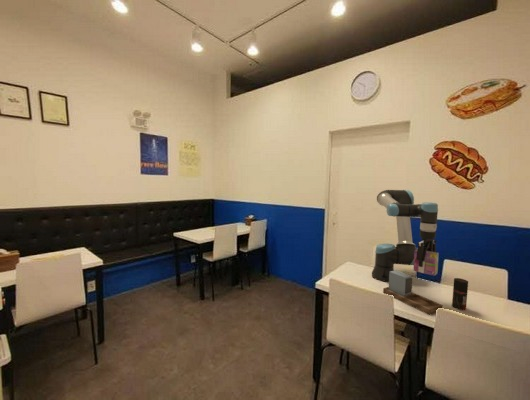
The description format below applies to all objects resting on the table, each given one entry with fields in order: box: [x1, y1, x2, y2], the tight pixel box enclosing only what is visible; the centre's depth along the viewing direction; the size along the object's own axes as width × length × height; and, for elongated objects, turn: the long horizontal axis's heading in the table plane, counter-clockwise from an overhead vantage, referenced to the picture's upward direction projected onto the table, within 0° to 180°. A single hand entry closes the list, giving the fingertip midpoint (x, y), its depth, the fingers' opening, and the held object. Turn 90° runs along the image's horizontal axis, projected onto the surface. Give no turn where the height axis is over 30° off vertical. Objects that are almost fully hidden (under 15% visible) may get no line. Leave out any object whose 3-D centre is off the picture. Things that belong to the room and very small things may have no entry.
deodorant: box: [451, 277, 469, 311], centre depth 132 cm, size 6×6×15 cm
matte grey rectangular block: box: [388, 269, 413, 296], centre depth 144 cm, size 11×6×12 cm, turn 26°
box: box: [413, 249, 439, 277], centre depth 137 cm, size 10×6×12 cm, turn 44°
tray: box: [382, 286, 444, 316], centre depth 139 cm, size 27×11×3 cm, turn 26°
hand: (425, 271), depth 138 cm, fingers closed on box, 7 cm apart
